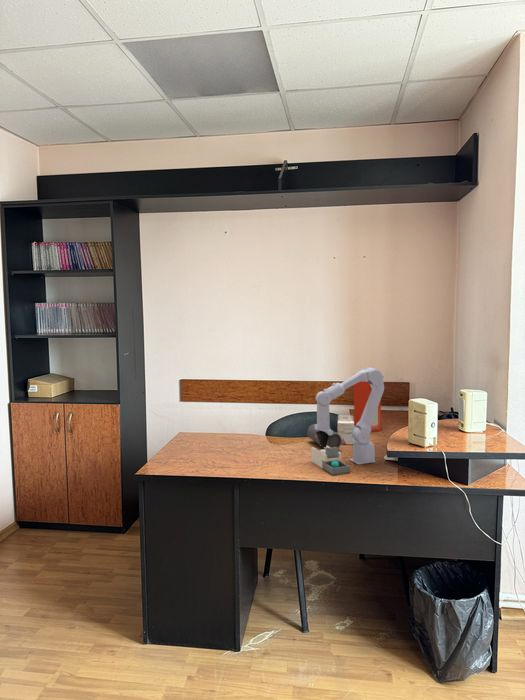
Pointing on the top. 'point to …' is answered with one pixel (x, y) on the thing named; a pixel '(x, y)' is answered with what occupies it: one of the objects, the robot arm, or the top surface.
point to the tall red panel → (360, 400)
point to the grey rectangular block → (331, 452)
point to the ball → (334, 464)
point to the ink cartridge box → (345, 429)
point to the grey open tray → (339, 470)
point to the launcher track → (322, 457)
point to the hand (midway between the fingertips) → (323, 447)
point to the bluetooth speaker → (332, 440)
